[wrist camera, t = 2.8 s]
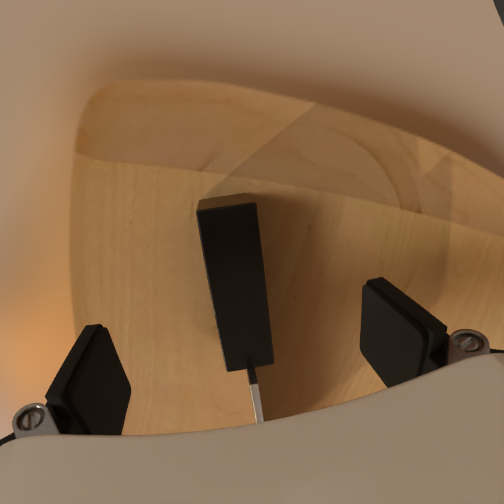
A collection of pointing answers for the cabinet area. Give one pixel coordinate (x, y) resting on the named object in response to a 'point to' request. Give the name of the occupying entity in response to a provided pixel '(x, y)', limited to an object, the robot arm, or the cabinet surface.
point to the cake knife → (237, 285)
